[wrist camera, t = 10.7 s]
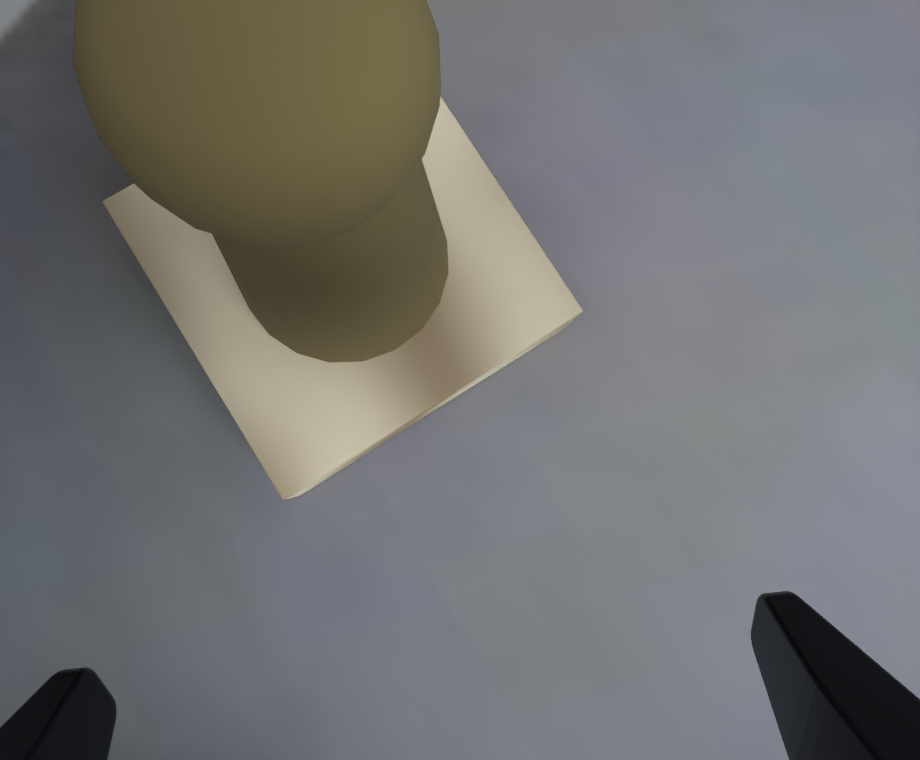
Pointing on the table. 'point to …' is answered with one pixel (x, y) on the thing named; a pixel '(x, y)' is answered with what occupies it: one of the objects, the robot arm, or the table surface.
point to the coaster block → (380, 378)
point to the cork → (284, 151)
